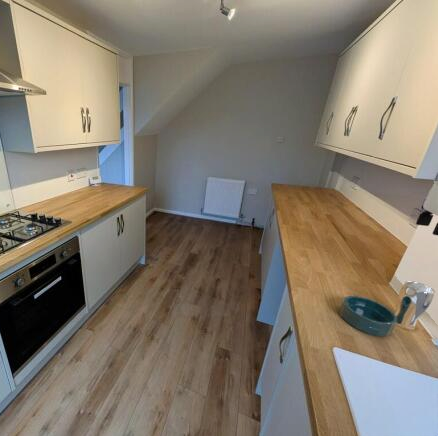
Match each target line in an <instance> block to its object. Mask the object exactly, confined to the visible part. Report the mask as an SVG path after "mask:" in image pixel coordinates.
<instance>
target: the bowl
mask: <svg viewBox="0 0 438 436" xmlns="http://www.w3.org/2000/svg"><path fill="white" fill-rule="evenodd" d="M339 314H340V316H341V318H342V319H343V320H344V321H345V322H346V323H347V324H349V325H350V326H352V327H354V328H355V329H357V330H360V331H361V332H363V333H366V334H369V335H373V336H376V337H388V336H390V335H392V334H393V331H394V329H395V327H396V326H397V325H396V323H397V317H396V315H395V314H394V312H393V311H392V310H391V309H390V308H388V307H387V306H385V305H383V304H382V303H380V302H378V301H375V300H373V299H370V298H367V297H363V296H359V295H349V296H345V297H344V298H343V301H342V304H341V306H340V309H339Z"/></svg>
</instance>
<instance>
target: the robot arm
mask: <svg viewBox="0 0 438 436" xmlns="http://www.w3.org/2000/svg"><path fill="white" fill-rule="evenodd" d="M420 208H421V210H420V211H419V216H418V217H417V220H416V221H415V225H417V226H424V227H429V226H430V225H431V222H432V220H433V218H434V215H435V216H437V217H438V172H437V173H436V175H435V177H434V180H433V185H432V186H431V188H430V189H429V192H428V194H427V195H426V198H424V199H423V200H422V205H421V207H420ZM431 234H432V235H433V236H438V222H436V225H435V227H434V228H433V231H432V233H431Z"/></svg>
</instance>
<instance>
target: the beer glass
mask: <svg viewBox="0 0 438 436" xmlns="http://www.w3.org/2000/svg"><path fill="white" fill-rule="evenodd" d="M435 293H436V291H435V290H434V288H432V287H431V286H429V285H427V284H424V283H422V282H418V281H414V280H407V281H405V282H404V284H403V286H402V287H401V289H400V291H399V293H398V295H397V296H398V297H397V302H396V307H395V310H394V312H393V313H394V314H395V315H396V317H397V323H396V325H395V326H398V327H400V328H403V329H406V330H410V331H411V330H412V331H413V330H415V329H416V326H417V322H418V319H419V318H420V317H421V316H422V315H423V313H425V311H426V310H427V309H428V308H429V307H430V305H431V303H432V301H433V298H434V296H435Z"/></svg>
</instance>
